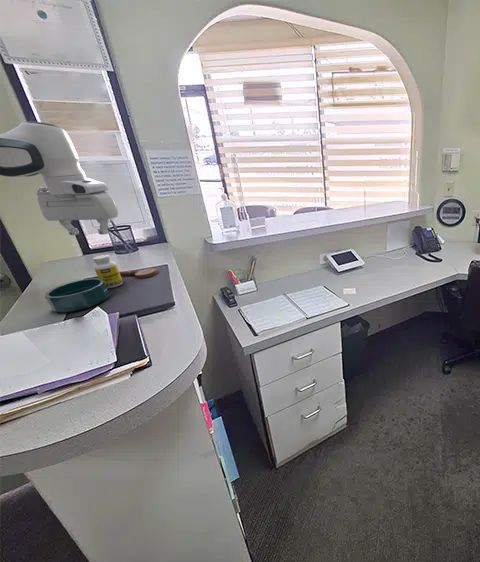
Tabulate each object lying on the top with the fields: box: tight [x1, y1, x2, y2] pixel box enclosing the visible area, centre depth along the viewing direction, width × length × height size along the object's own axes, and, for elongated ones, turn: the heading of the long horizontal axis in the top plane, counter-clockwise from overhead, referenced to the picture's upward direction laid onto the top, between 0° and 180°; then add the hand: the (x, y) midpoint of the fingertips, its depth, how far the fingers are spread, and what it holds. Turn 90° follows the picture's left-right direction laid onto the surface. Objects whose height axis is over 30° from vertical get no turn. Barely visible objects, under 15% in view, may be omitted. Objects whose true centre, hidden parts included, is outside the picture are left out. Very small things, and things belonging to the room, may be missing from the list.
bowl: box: [44, 277, 110, 313], centre depth 88 cm, size 12×12×5 cm
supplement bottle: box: [92, 254, 124, 289], centre depth 97 cm, size 5×5×10 cm
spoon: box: [119, 267, 158, 279], centre depth 107 cm, size 21×6×2 cm, turn 87°
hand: (89, 234), depth 92 cm, fingers open, 8 cm apart
